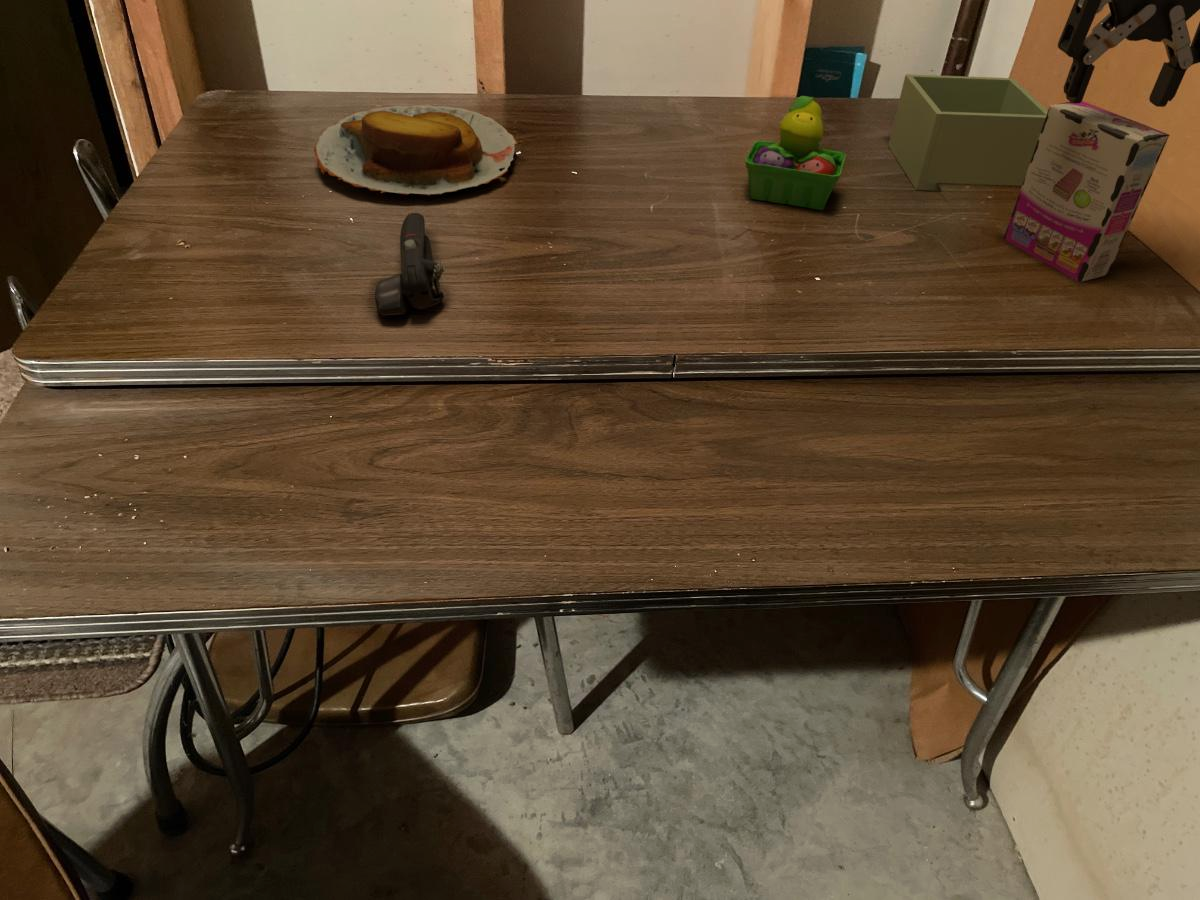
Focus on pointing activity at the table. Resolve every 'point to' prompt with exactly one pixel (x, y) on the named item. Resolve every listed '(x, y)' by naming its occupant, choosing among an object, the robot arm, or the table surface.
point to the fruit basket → (795, 161)
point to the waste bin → (965, 130)
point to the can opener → (411, 273)
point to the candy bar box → (1083, 188)
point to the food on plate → (415, 149)
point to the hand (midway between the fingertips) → (1114, 102)
